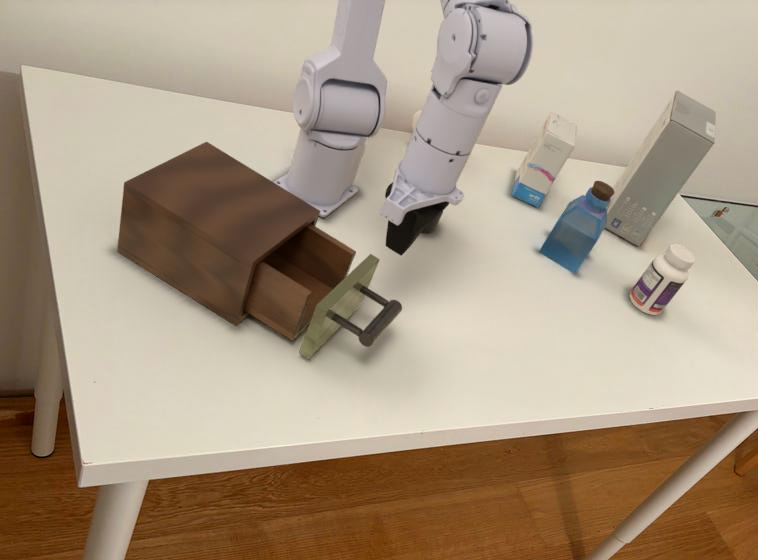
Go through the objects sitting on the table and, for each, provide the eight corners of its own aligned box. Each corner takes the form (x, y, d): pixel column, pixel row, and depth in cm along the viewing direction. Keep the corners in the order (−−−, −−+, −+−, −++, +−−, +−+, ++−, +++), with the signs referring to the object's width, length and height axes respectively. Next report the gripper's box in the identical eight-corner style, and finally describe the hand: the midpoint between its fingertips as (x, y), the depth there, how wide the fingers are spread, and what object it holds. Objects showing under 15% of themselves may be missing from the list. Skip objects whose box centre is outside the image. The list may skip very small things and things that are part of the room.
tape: (410, 206, 100) (418, 189, 98) (440, 224, 100) (448, 207, 98) (396, 220, 97) (404, 201, 95) (426, 238, 96) (435, 220, 94)
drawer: (397, 327, 80) (418, 282, 76) (349, 384, 72) (370, 338, 67) (260, 243, 82) (273, 194, 77) (196, 289, 73) (207, 237, 69)
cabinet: (300, 271, 82) (320, 210, 77) (235, 326, 73) (253, 262, 67) (194, 205, 83) (206, 141, 78) (116, 251, 74) (123, 182, 68)
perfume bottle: (585, 256, 109) (628, 191, 101) (575, 274, 104) (619, 207, 97) (550, 234, 110) (590, 168, 102) (538, 251, 105) (579, 184, 97)
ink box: (539, 209, 114) (576, 145, 106) (510, 196, 113) (546, 130, 105) (543, 185, 120) (578, 122, 112) (516, 172, 120) (549, 108, 112)
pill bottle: (661, 302, 108) (700, 253, 102) (659, 321, 104) (700, 271, 98) (629, 285, 108) (667, 234, 102) (626, 304, 104) (664, 252, 98)
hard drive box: (639, 249, 117) (715, 143, 104) (597, 226, 117) (668, 118, 104) (648, 209, 129) (717, 110, 116) (610, 189, 129) (675, 87, 116)
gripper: (451, 186, 62) (398, 300, 71) (505, 136, 73) (453, 239, 82) (382, 144, 62) (338, 262, 71) (445, 100, 73) (400, 207, 82)
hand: (395, 248), depth 76 cm, fingers closed
